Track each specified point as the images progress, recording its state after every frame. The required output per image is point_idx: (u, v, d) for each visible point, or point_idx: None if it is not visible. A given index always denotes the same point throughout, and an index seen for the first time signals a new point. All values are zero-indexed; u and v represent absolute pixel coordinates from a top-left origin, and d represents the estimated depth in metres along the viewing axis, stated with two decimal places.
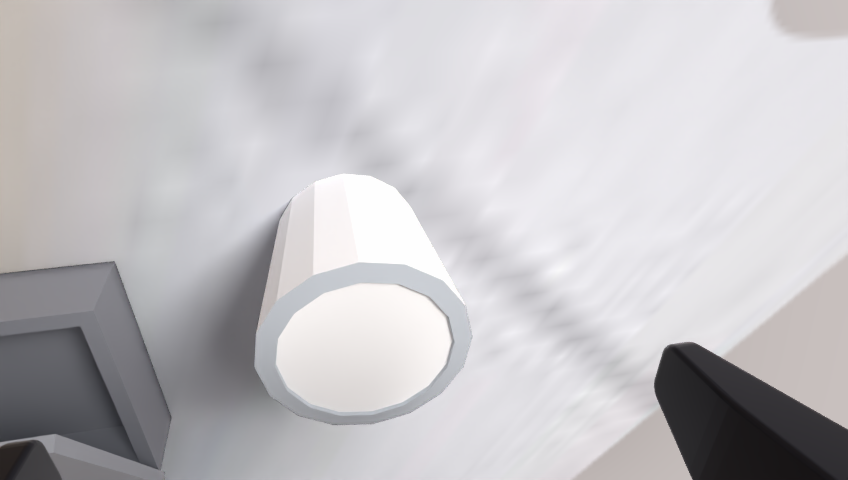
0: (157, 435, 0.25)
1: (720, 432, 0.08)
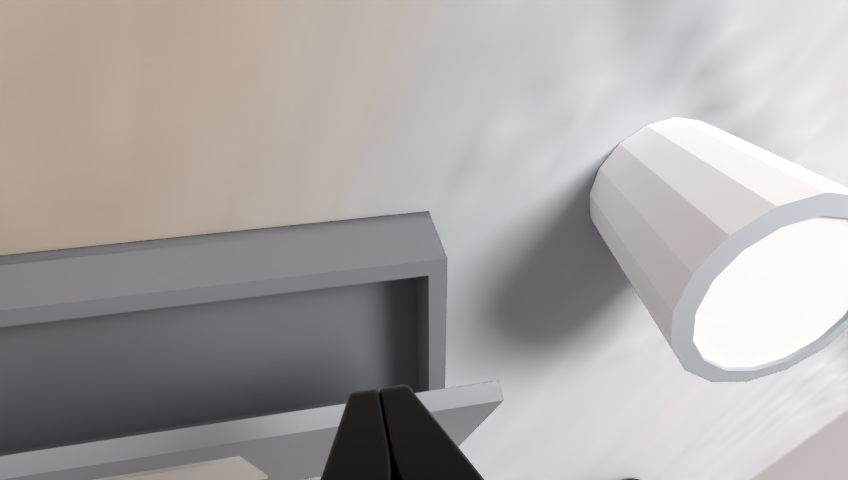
0: None
1: None
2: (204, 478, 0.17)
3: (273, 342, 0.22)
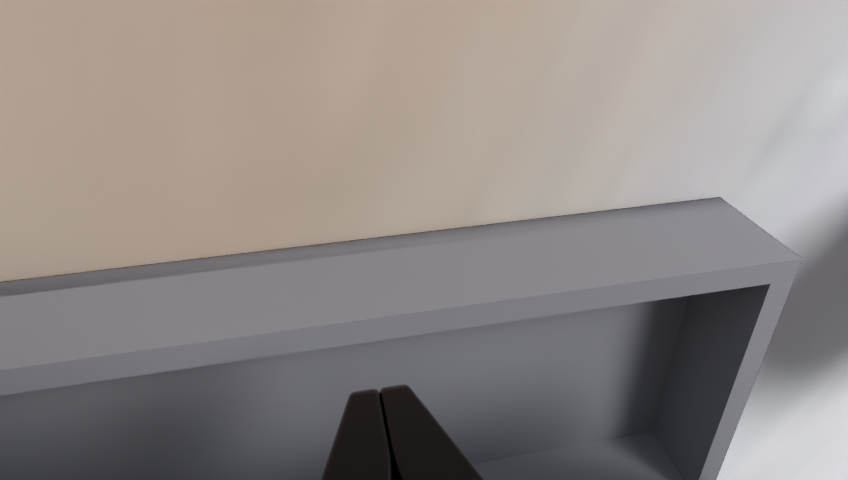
0: None
1: None
2: None
3: (496, 376, 0.17)
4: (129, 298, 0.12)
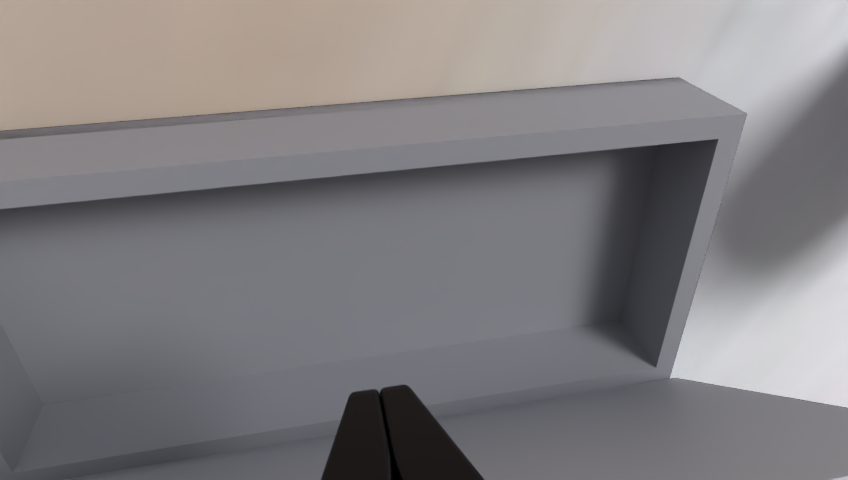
0: None
1: None
2: None
3: (471, 250, 0.18)
4: (129, 139, 0.13)
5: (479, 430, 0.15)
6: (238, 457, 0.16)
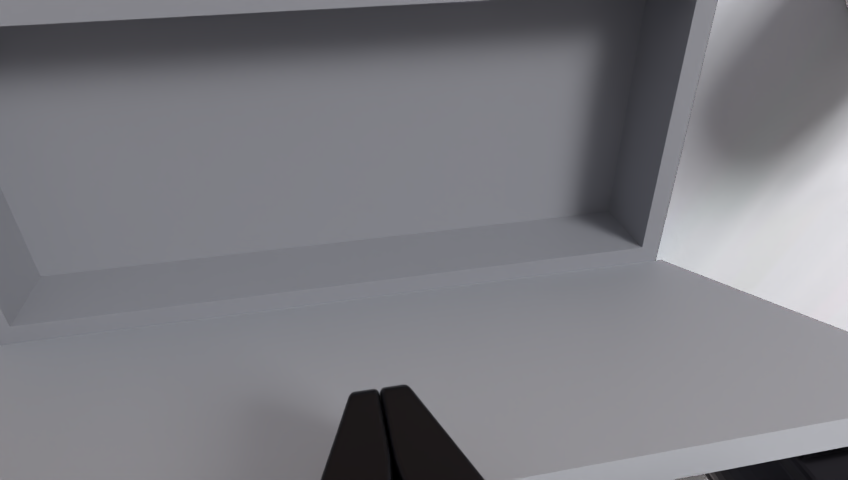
0: None
1: None
2: None
3: (460, 126, 0.18)
4: None
5: (468, 314, 0.16)
6: (231, 326, 0.16)
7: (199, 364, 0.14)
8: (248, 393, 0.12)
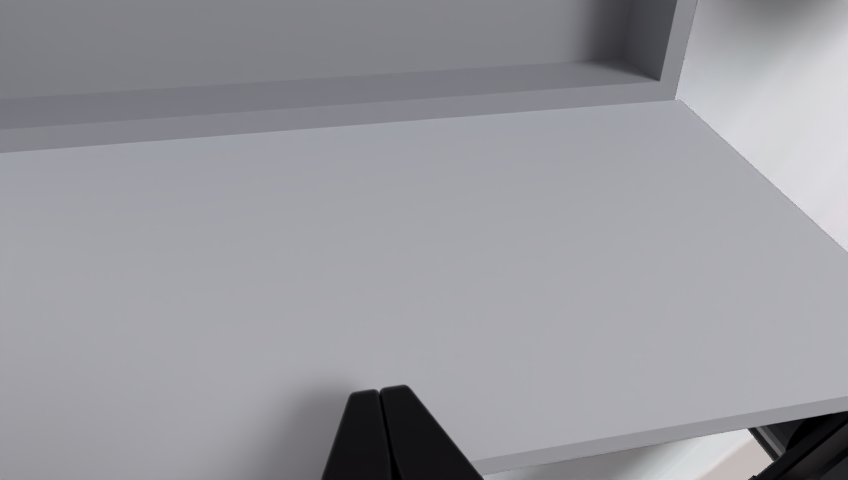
0: None
1: None
2: None
3: None
4: None
5: (465, 174, 0.14)
6: (199, 158, 0.15)
7: (170, 226, 0.13)
8: (230, 285, 0.11)
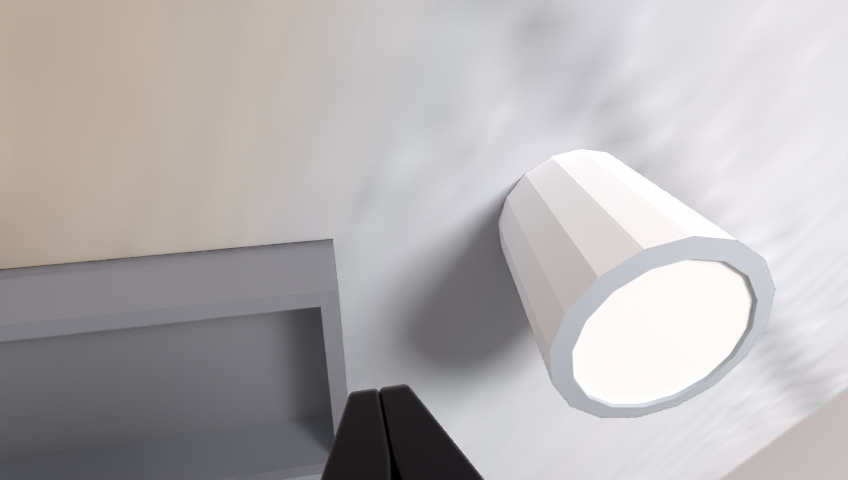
0: None
1: None
2: None
3: (178, 367, 0.22)
4: None
5: None
6: None
7: None
8: None
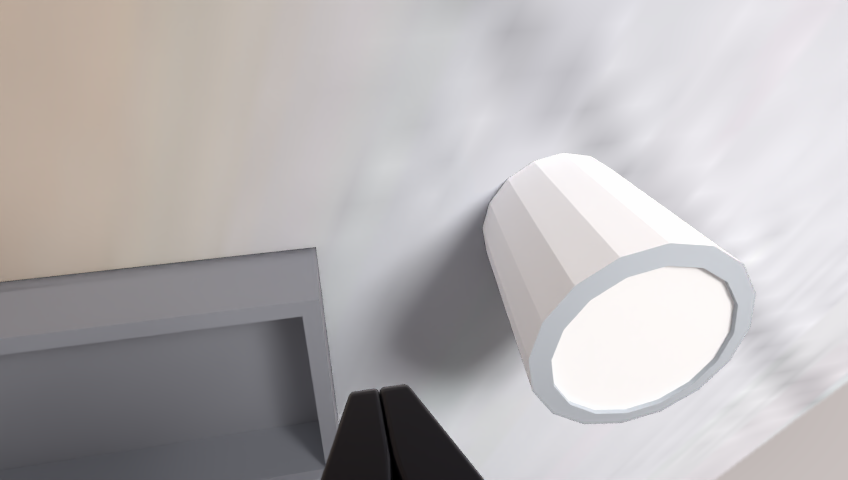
0: None
1: None
2: None
3: (165, 377, 0.22)
4: None
5: None
6: None
7: None
8: None
